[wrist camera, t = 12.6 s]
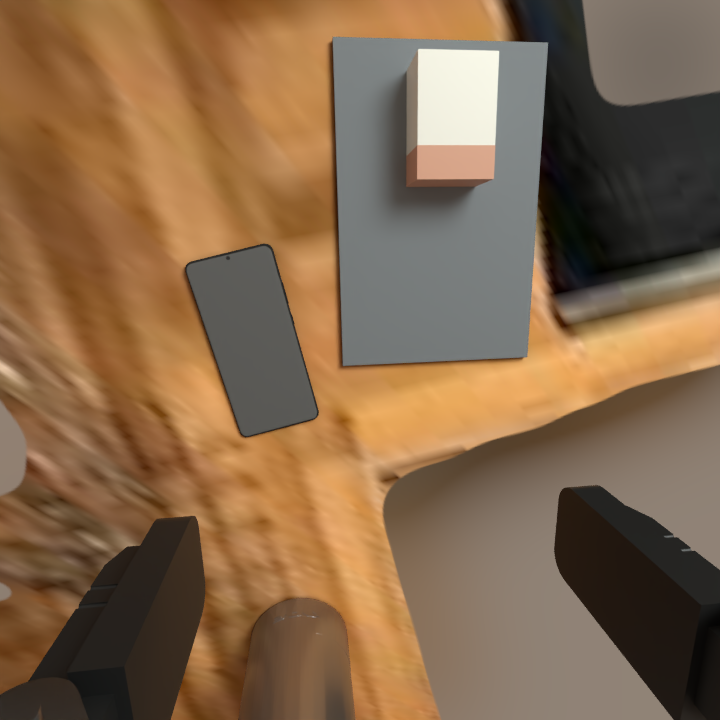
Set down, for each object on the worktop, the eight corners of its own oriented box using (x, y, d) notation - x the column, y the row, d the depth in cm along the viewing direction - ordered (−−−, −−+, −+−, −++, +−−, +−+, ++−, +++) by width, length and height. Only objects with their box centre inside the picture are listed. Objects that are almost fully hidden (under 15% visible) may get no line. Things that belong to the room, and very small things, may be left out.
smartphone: (241, 439, 38) (182, 263, 34) (243, 435, 39) (185, 263, 35) (320, 418, 38) (270, 241, 34) (320, 414, 39) (271, 241, 35)
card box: (406, 70, 33) (418, 48, 29) (479, 72, 33) (499, 50, 30) (406, 187, 35) (417, 179, 31) (475, 186, 35) (494, 178, 32)
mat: (524, 355, 39) (527, 357, 39) (342, 364, 38) (343, 365, 37) (544, 45, 34) (548, 42, 33) (332, 40, 32) (332, 36, 32)
